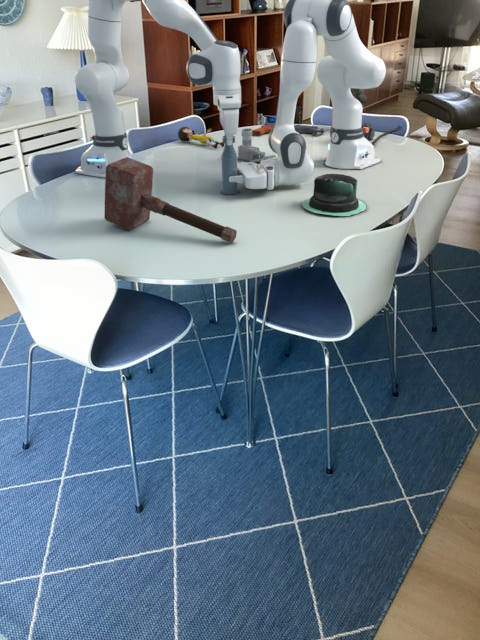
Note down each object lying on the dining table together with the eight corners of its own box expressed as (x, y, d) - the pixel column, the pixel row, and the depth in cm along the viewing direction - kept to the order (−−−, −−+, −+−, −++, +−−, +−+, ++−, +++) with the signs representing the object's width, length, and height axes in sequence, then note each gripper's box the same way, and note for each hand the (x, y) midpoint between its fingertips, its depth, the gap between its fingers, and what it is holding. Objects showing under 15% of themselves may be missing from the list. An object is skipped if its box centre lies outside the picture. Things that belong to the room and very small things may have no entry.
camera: (247, 126, 226) (276, 132, 217) (247, 155, 232) (275, 162, 223) (233, 130, 220) (262, 135, 212) (233, 160, 226) (261, 166, 218)
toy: (345, 120, 249) (377, 123, 242) (343, 139, 253) (375, 143, 246) (337, 123, 243) (369, 127, 236) (336, 143, 247) (367, 147, 240)
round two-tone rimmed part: (371, 195, 181) (367, 217, 164) (320, 217, 189) (311, 241, 173) (352, 153, 175) (346, 172, 159) (300, 178, 184) (289, 199, 168)
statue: (367, 132, 266) (374, 63, 251) (349, 133, 264) (355, 64, 249) (357, 127, 275) (362, 61, 260) (339, 129, 273) (344, 62, 258)
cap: (220, 143, 181) (220, 137, 180) (225, 140, 184) (225, 134, 183) (232, 144, 180) (232, 138, 179) (236, 141, 183) (236, 135, 182)
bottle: (226, 195, 187) (225, 141, 178) (219, 191, 191) (218, 138, 182) (240, 193, 189) (239, 139, 180) (233, 189, 193) (232, 136, 184)
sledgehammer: (247, 201, 148) (125, 155, 160) (230, 213, 141) (104, 163, 152) (236, 257, 158) (122, 210, 170) (220, 270, 151) (102, 220, 162)
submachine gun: (243, 132, 260) (267, 122, 278) (243, 138, 261) (267, 127, 280) (305, 138, 246) (326, 127, 265) (305, 144, 248) (326, 133, 266)
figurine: (211, 139, 238) (170, 125, 250) (210, 157, 242) (170, 142, 255) (230, 134, 247) (190, 120, 259) (229, 150, 251) (189, 136, 263)
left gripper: (214, 93, 184) (216, 136, 191) (220, 104, 166) (222, 150, 173) (233, 93, 184) (234, 135, 191) (241, 103, 167) (242, 149, 174)
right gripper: (259, 156, 197) (221, 159, 195) (274, 171, 179) (232, 175, 177) (259, 174, 200) (222, 177, 198) (273, 191, 183) (232, 194, 180)
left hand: (228, 143), depth 182 cm, fingers closed on cap, 4 cm apart
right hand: (227, 176), depth 187 cm, fingers closed on bottle, 5 cm apart
